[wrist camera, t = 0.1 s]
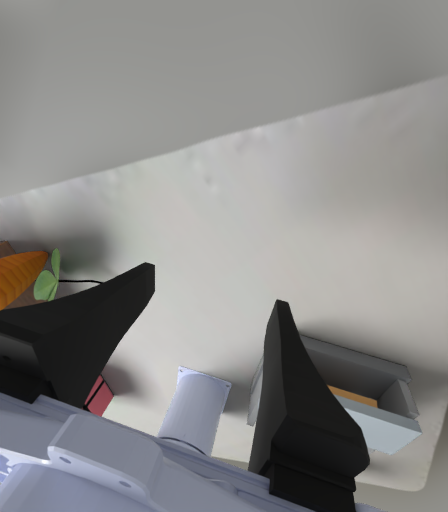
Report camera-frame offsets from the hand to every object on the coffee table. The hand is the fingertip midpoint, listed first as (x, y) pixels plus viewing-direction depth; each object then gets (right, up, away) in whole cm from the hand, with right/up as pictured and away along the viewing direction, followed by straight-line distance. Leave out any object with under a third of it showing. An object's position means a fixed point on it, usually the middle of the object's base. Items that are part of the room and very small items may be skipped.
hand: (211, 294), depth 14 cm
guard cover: (+11, -13, +10) cm, 20 cm away
